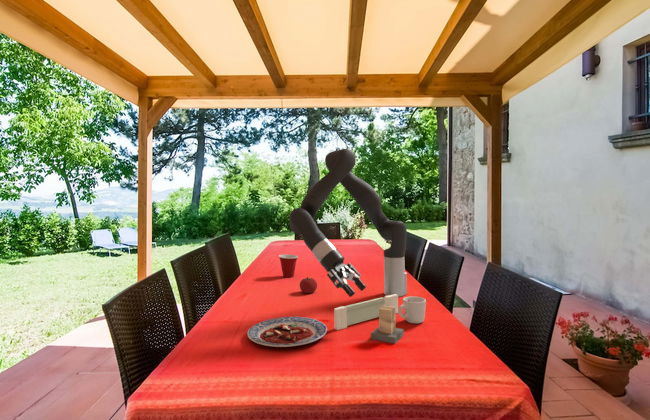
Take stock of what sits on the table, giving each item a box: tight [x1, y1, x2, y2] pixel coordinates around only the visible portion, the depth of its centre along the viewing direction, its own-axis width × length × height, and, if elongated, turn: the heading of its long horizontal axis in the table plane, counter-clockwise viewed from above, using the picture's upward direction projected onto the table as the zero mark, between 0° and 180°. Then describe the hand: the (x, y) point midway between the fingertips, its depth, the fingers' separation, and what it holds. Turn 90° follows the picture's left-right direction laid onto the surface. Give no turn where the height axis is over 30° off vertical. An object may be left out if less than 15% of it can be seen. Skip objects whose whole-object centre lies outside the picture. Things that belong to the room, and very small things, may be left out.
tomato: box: [299, 277, 318, 295], centre depth 174 cm, size 8×8×7 cm
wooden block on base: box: [370, 304, 405, 345], centre depth 118 cm, size 8×8×10 cm
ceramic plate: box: [247, 316, 328, 348], centre depth 121 cm, size 26×26×3 cm
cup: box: [398, 295, 427, 324], centre depth 131 cm, size 11×8×8 cm
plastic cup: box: [278, 253, 299, 279], centre depth 208 cm, size 11×11×12 cm
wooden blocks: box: [333, 294, 399, 331], centre depth 134 cm, size 29×2×7 cm, turn 125°
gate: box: [344, 297, 385, 327], centre depth 133 cm, size 18×1×6 cm, turn 125°
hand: (358, 292), depth 123 cm, fingers open, 8 cm apart
